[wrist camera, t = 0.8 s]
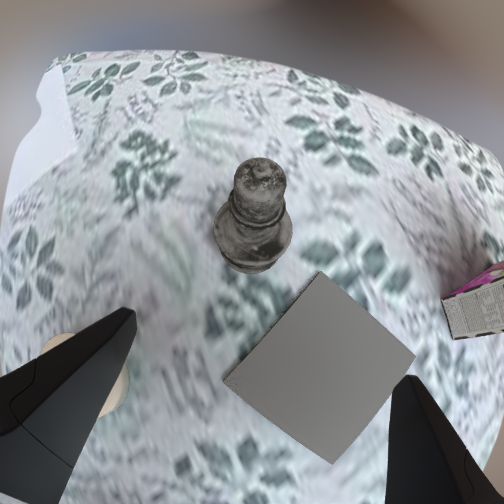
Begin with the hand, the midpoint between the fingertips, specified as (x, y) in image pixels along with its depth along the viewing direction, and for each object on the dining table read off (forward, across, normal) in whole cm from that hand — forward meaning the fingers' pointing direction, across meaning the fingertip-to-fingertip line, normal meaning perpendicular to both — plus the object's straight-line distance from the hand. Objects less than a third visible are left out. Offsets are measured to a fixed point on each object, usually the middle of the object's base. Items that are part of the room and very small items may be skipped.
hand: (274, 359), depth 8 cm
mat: (+9, -7, +12) cm, 16 cm away
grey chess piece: (+16, +2, +6) cm, 17 cm away
